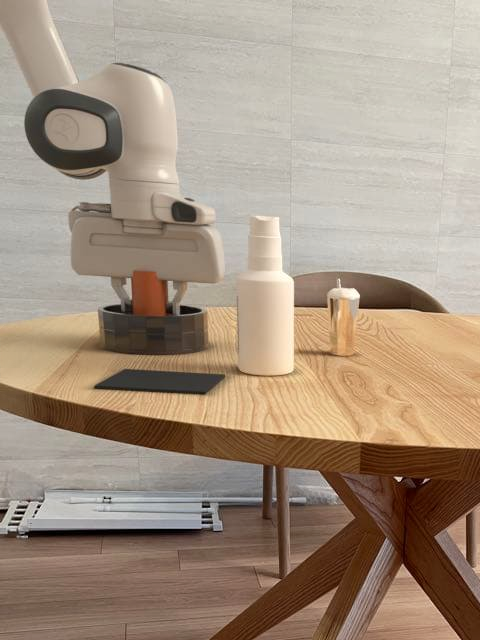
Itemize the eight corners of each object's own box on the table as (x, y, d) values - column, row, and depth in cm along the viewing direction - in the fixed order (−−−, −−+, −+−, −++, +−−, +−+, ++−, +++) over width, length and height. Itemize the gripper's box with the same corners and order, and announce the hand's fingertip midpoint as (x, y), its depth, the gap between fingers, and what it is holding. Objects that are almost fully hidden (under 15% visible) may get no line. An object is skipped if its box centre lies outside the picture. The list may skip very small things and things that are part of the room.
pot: (85, 351, 109) (81, 312, 107) (121, 335, 122) (118, 300, 121) (193, 357, 109) (192, 318, 107) (218, 341, 123) (217, 306, 121)
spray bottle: (292, 366, 107) (292, 217, 100) (295, 376, 100) (295, 218, 94) (238, 365, 105) (235, 214, 99) (238, 375, 99) (234, 215, 92)
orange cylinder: (129, 338, 113) (125, 270, 110) (140, 334, 118) (136, 267, 114) (164, 341, 113) (161, 272, 110) (174, 336, 118) (171, 270, 114)
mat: (94, 388, 89) (94, 385, 89) (124, 371, 98) (124, 368, 98) (205, 394, 89) (205, 391, 89) (225, 376, 98) (225, 374, 98)
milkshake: (351, 350, 121) (353, 279, 117) (361, 356, 116) (364, 283, 112) (321, 350, 119) (322, 278, 116) (330, 356, 115) (331, 282, 111)
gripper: (57, 200, 106) (67, 311, 111) (216, 211, 106) (218, 321, 111) (76, 201, 112) (84, 306, 117) (227, 211, 112) (228, 315, 117)
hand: (151, 313), depth 114 cm, fingers closed on orange cylinder, 5 cm apart
